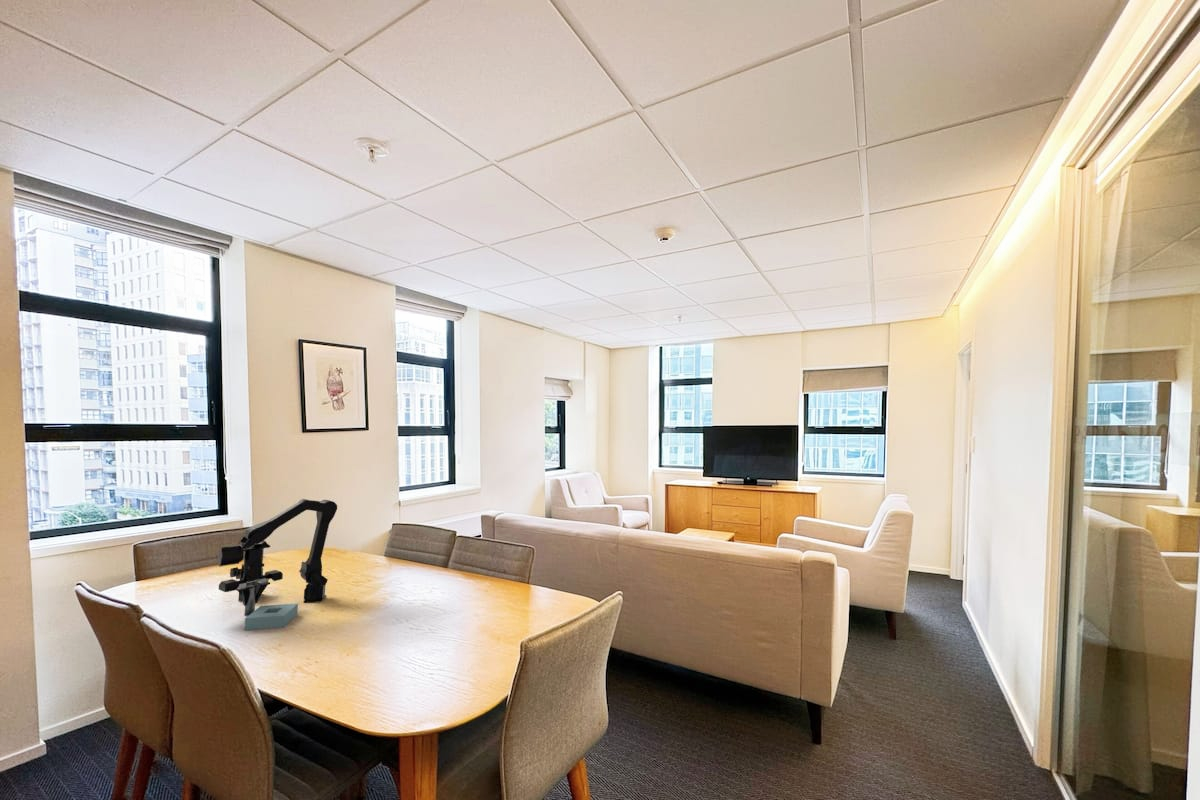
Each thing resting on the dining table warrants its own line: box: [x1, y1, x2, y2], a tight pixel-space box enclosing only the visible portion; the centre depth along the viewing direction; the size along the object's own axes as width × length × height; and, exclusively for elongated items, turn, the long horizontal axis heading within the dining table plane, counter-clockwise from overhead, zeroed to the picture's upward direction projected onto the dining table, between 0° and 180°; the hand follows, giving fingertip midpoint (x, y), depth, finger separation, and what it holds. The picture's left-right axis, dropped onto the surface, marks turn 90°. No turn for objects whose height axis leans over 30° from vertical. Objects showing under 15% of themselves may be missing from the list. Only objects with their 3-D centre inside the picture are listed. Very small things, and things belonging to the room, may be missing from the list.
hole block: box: [243, 603, 299, 631], centre depth 167 cm, size 12×12×4 cm
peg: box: [244, 585, 257, 617], centre depth 174 cm, size 3×3×10 cm
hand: (250, 604), depth 174 cm, fingers closed on peg, 3 cm apart
